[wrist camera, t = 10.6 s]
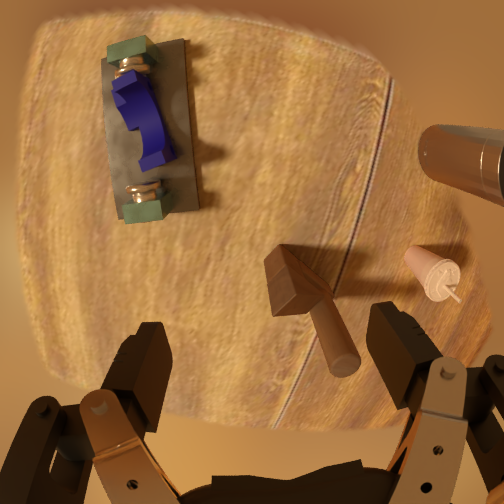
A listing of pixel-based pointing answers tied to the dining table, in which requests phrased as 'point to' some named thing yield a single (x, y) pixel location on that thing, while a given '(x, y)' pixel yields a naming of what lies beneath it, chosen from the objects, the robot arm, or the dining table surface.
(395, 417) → the dining table surface
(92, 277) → the dining table surface
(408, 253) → the smoothie
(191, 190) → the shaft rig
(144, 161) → the blue curved bracket
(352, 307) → the dining table surface
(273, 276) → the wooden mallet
